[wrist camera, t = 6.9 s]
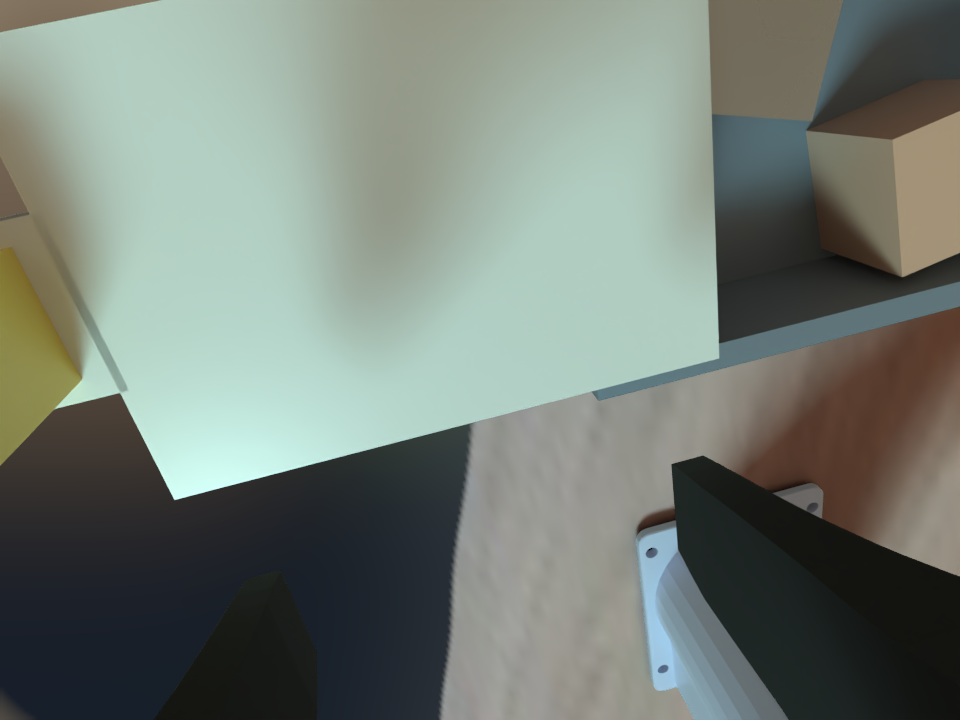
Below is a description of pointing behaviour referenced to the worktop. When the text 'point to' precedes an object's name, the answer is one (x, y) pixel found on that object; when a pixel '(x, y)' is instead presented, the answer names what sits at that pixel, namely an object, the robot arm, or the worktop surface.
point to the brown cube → (769, 56)
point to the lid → (349, 218)
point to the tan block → (891, 178)
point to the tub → (791, 203)
